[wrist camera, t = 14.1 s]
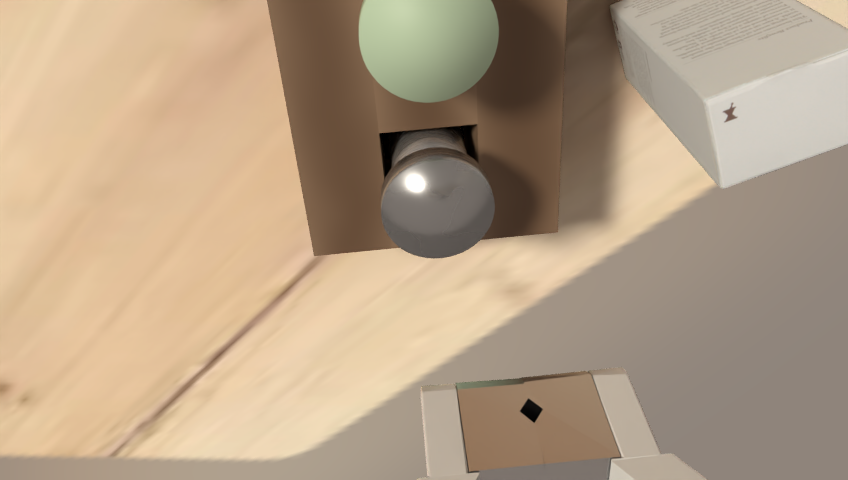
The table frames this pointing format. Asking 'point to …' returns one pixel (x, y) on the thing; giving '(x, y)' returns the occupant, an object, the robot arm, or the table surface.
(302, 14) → the block
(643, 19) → the skincare box
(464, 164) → the plug
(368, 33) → the plug mid
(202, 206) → the table surface
